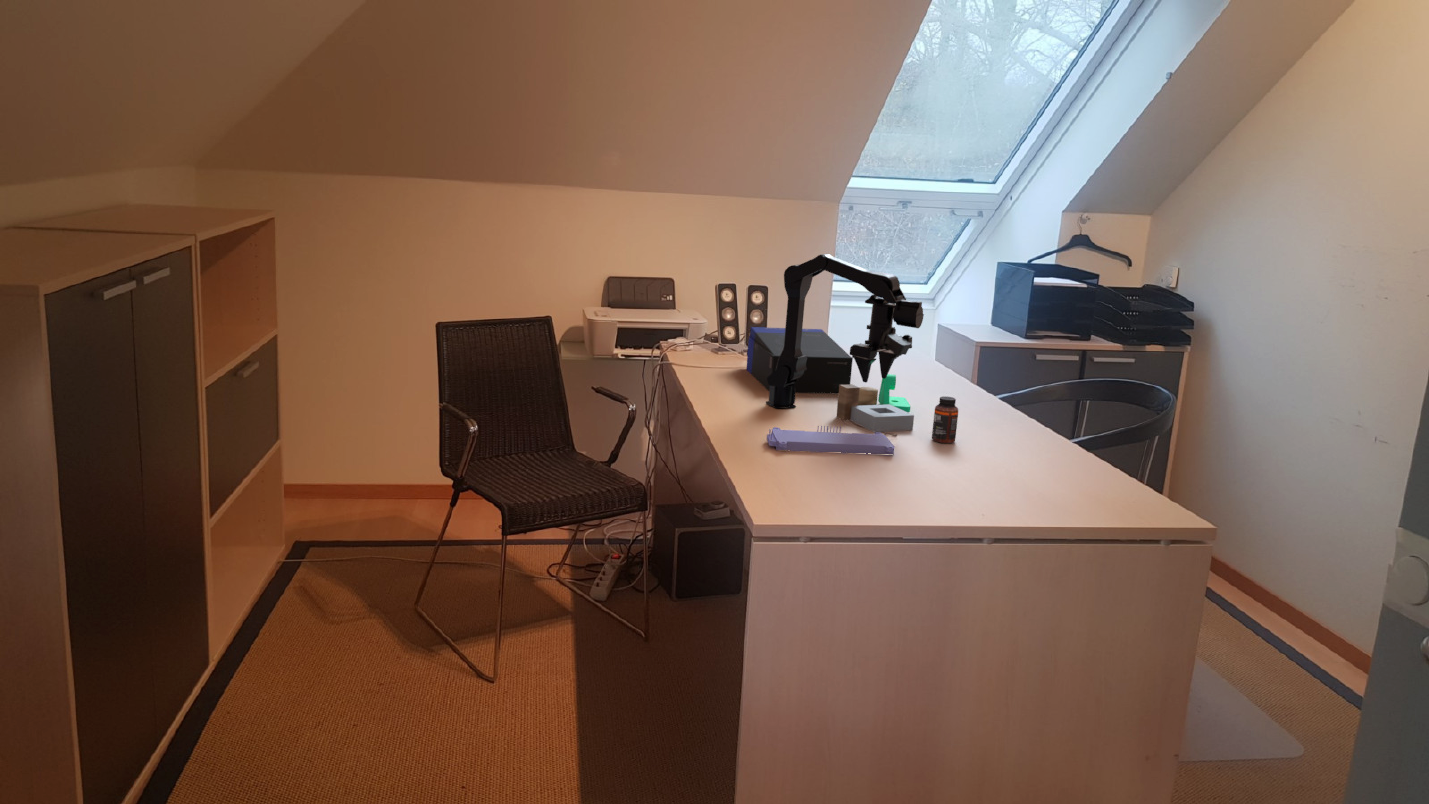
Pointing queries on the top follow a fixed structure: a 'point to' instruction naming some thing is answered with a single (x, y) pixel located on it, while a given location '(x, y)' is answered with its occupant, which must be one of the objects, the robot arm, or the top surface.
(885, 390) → the green angle bracket
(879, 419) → the socket block
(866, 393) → the round dowel
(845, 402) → the square peg
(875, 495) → the top surface
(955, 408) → the supplement bottle
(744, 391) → the top surface
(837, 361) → the headphone box
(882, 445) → the computer part
